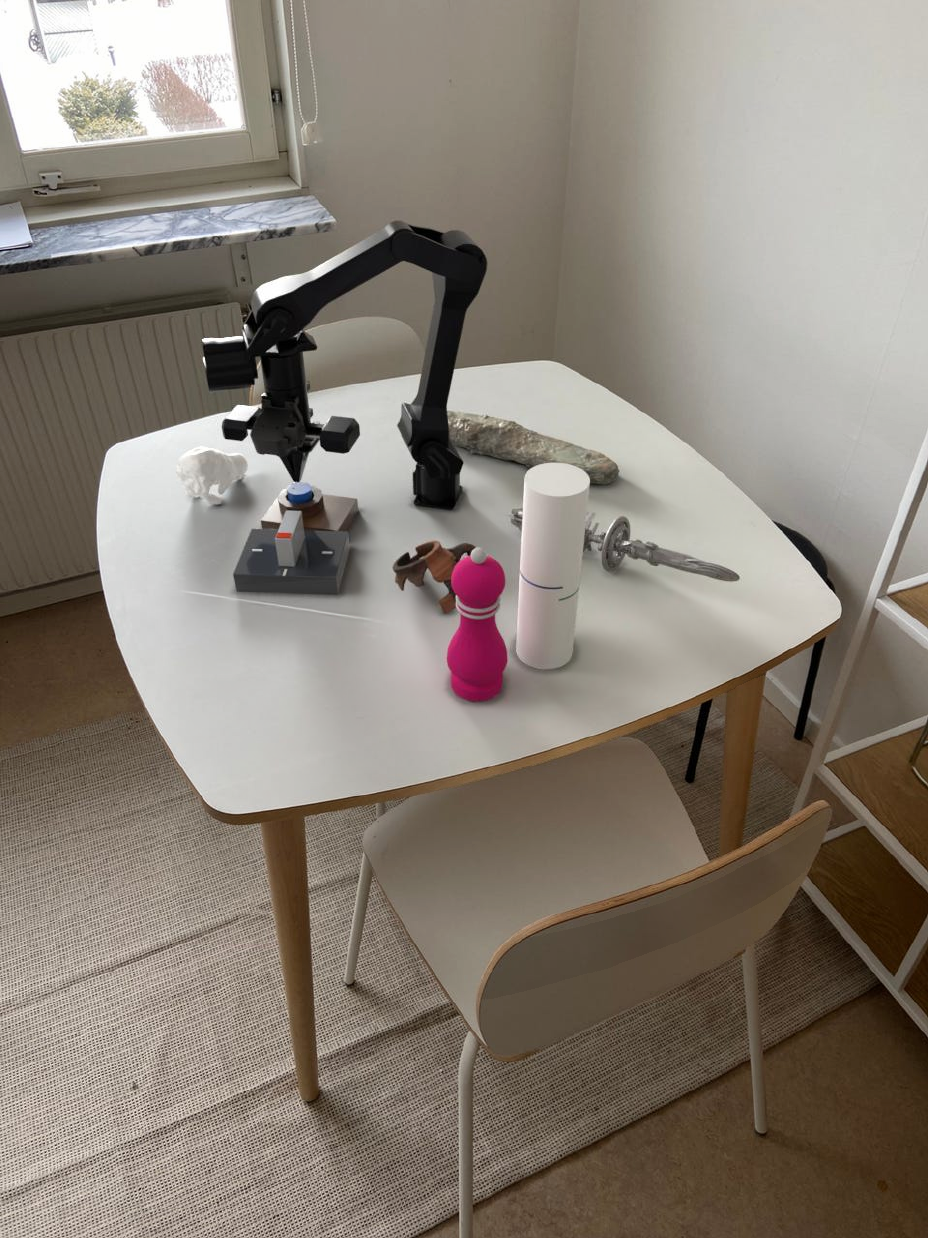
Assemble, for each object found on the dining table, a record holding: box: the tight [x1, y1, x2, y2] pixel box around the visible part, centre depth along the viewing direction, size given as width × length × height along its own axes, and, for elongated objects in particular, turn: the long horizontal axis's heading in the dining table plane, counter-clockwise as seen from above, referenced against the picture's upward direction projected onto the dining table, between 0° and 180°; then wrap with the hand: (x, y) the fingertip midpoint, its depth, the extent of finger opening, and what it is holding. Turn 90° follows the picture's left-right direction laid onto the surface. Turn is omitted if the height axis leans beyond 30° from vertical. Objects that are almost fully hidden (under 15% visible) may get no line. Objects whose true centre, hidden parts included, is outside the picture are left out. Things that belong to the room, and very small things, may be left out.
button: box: [286, 481, 313, 504], centre depth 137 cm, size 4×4×2 cm
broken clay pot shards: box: [392, 540, 477, 615], centre depth 125 cm, size 12×10×8 cm
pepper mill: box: [446, 547, 509, 703], centre depth 106 cm, size 7×7×20 cm
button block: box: [260, 484, 359, 532], centre depth 138 cm, size 12×9×4 cm
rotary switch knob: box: [275, 510, 305, 567], centre depth 127 cm, size 7×2×5 cm, turn 176°
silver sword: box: [508, 506, 741, 583], centre depth 128 cm, size 8×35×8 cm
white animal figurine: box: [175, 446, 249, 506], centre depth 144 cm, size 6×8×12 cm
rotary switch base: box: [232, 528, 351, 596], centre depth 129 cm, size 14×11×3 cm
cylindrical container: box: [515, 463, 591, 670], centre depth 109 cm, size 7×7×25 cm
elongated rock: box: [447, 410, 620, 485], centre depth 154 cm, size 35×5×10 cm
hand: (297, 480), depth 136 cm, fingers closed
